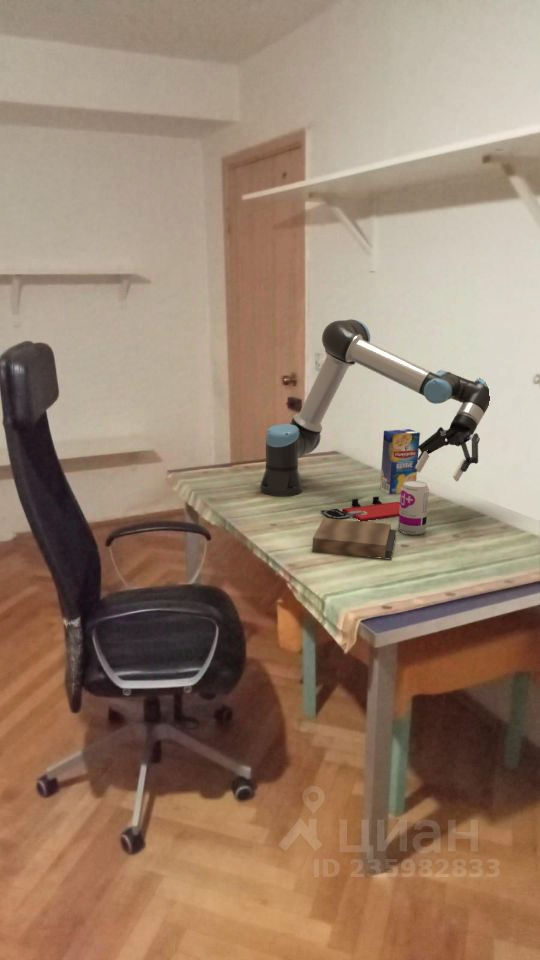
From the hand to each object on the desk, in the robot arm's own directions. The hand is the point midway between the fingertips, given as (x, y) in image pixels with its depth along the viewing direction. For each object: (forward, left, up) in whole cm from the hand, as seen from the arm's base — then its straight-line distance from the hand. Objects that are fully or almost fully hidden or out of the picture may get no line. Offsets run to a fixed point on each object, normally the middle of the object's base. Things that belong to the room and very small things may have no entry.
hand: (435, 474), depth 205 cm
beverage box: (-13, +36, -16) cm, 41 cm away
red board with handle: (-21, +6, -17) cm, 27 cm away
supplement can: (-6, -8, -16) cm, 19 cm away
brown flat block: (-22, -24, -16) cm, 37 cm away
